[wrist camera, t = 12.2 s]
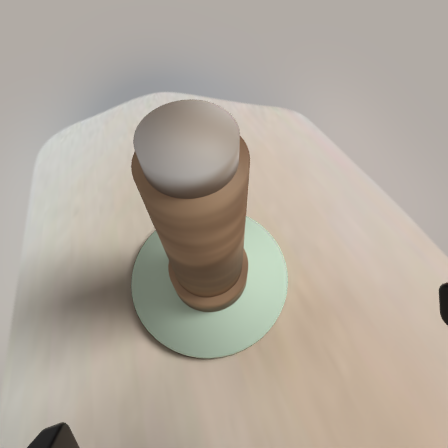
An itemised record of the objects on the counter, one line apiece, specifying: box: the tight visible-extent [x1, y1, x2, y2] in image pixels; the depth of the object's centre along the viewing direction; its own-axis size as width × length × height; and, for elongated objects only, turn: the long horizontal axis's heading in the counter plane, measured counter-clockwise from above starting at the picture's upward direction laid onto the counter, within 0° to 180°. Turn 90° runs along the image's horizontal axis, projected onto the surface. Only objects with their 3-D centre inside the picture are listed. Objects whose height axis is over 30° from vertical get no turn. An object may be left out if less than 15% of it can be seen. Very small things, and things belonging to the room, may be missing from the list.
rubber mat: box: [131, 216, 288, 359], centre depth 22 cm, size 11×11×1 cm
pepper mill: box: [131, 100, 250, 312], centre depth 16 cm, size 5×5×13 cm
